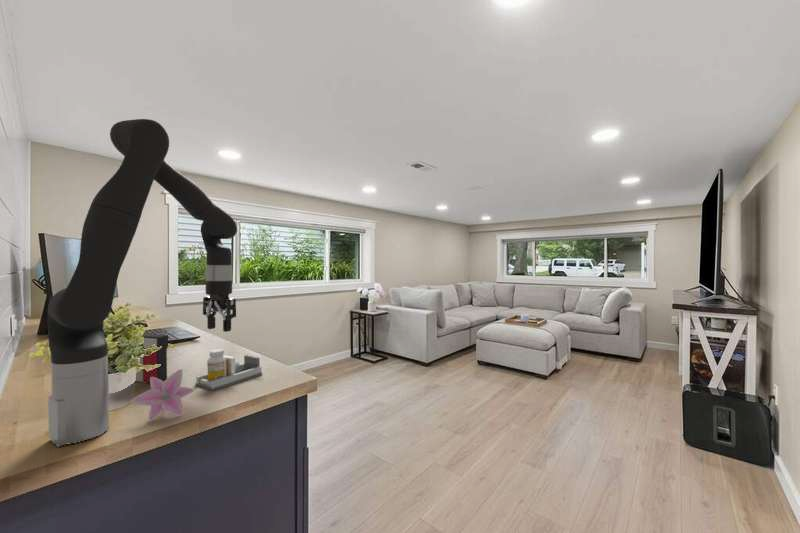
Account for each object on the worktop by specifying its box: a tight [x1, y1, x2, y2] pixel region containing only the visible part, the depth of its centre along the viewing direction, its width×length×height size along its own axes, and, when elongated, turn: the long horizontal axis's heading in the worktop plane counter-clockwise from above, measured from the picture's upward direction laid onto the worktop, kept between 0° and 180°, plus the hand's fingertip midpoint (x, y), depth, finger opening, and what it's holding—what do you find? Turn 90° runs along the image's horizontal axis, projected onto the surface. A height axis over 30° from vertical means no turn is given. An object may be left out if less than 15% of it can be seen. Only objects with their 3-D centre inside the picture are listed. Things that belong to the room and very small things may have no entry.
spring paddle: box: [223, 354, 241, 376], centre depth 112 cm, size 4×6×7 cm, turn 59°
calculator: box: [136, 333, 169, 384], centre depth 110 cm, size 11×4×15 cm, turn 76°
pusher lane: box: [194, 354, 263, 392], centre depth 111 cm, size 17×10×6 cm, turn 149°
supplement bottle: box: [206, 348, 227, 381], centre depth 108 cm, size 5×5×10 cm
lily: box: [130, 368, 195, 421], centre depth 87 cm, size 12×12×10 cm
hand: (219, 330), depth 108 cm, fingers open, 8 cm apart
